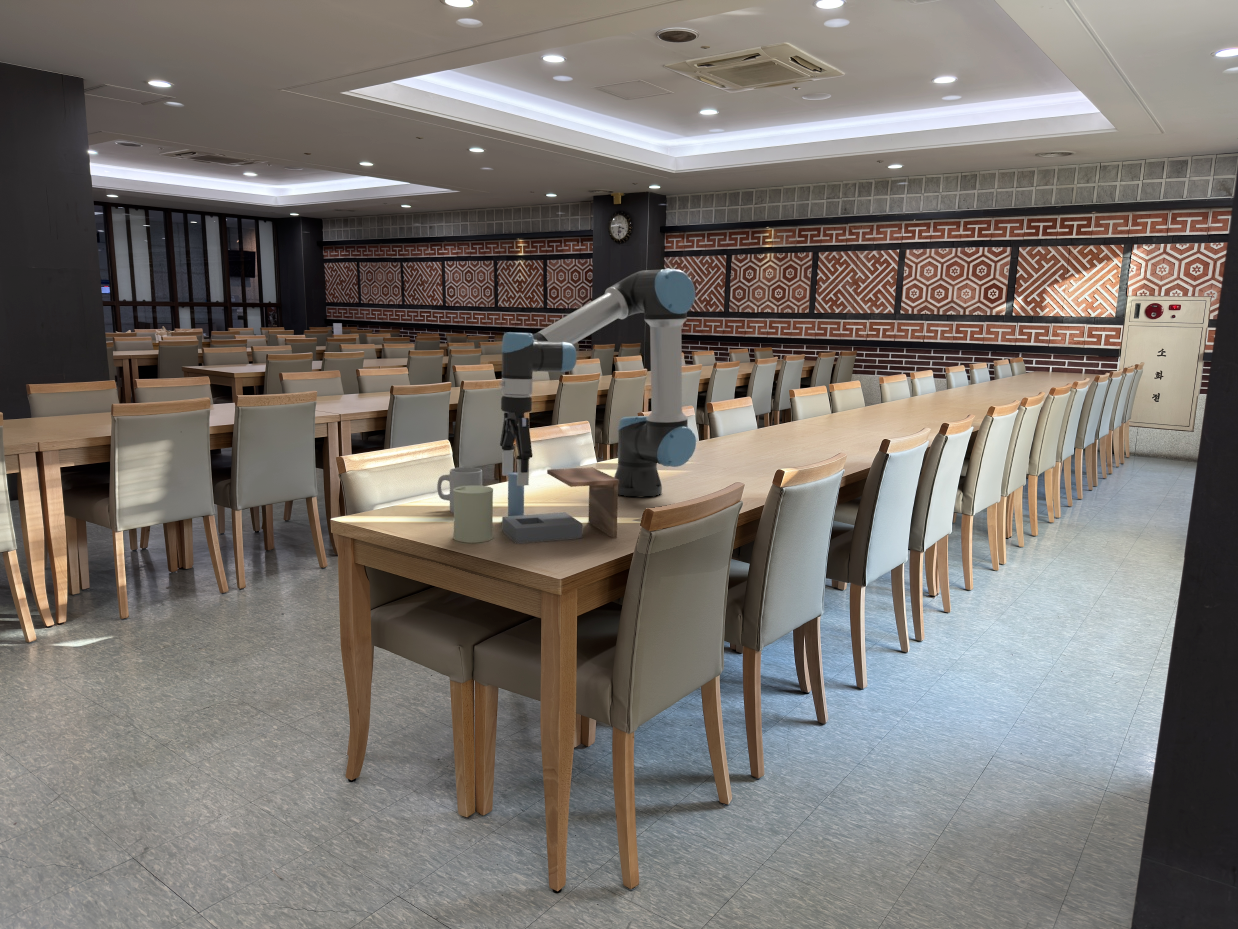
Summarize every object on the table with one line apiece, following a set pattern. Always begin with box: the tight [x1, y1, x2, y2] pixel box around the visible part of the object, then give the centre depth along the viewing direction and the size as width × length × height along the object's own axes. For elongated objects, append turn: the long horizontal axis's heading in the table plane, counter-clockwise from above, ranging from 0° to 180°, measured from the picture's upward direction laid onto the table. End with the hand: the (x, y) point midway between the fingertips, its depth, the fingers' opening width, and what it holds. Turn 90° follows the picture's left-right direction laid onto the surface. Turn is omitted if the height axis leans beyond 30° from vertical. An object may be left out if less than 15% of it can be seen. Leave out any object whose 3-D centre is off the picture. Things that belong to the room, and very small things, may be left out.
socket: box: [501, 511, 583, 544], centre depth 197 cm, size 16×12×4 cm
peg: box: [507, 472, 525, 516], centre depth 209 cm, size 4×4×12 cm
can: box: [452, 485, 494, 544], centre depth 191 cm, size 9×9×12 cm
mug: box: [436, 466, 483, 514], centre depth 218 cm, size 12×8×11 cm
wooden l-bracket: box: [546, 467, 619, 539], centre depth 200 cm, size 12×17×14 cm
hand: (514, 480), depth 208 cm, fingers open, 13 cm apart
